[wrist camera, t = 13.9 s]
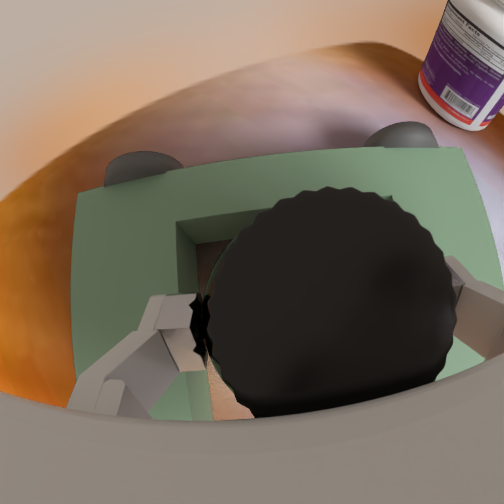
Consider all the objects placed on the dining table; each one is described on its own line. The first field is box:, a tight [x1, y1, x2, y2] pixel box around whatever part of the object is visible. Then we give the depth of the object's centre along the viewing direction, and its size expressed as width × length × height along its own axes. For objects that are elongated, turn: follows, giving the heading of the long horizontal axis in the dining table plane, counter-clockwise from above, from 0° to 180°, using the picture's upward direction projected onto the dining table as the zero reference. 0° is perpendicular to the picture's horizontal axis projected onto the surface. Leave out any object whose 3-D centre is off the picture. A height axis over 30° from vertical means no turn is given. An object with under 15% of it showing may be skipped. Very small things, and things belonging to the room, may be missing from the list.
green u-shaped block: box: [71, 121, 504, 421], centre depth 14 cm, size 24×15×5 cm, turn 96°
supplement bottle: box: [202, 186, 457, 418], centre depth 10 cm, size 7×7×12 cm
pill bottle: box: [418, 0, 504, 131], centre depth 13 cm, size 8×8×14 cm
